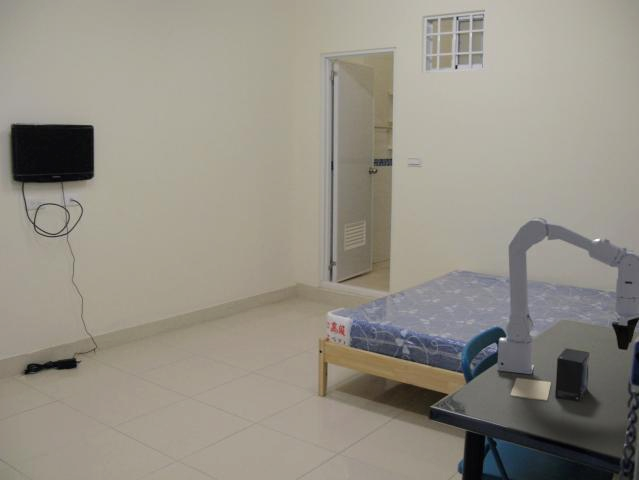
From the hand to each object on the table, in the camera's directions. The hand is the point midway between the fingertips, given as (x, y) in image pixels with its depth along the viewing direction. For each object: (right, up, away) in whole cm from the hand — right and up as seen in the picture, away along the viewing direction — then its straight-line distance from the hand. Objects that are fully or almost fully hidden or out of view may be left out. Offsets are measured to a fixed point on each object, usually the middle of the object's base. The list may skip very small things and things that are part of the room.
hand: (624, 345), depth 174 cm
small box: (-17, -11, -7) cm, 22 cm away
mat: (-27, -11, -4) cm, 29 cm away
